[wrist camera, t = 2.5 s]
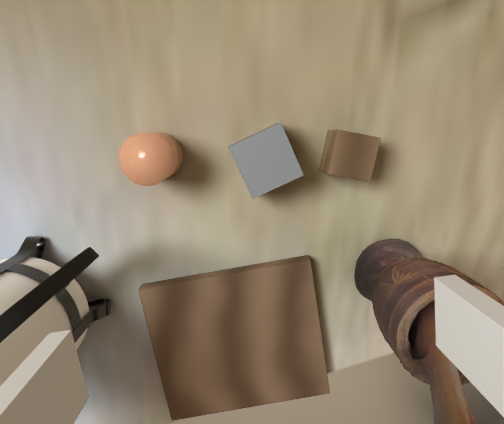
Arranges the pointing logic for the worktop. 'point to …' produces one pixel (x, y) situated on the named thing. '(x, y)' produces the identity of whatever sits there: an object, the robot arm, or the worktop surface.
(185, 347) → the walnut board
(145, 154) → the terracotta capsule
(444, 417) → the mortar and pestle
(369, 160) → the dark oak block
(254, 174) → the slate grey cube
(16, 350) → the coffee press
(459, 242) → the worktop surface
